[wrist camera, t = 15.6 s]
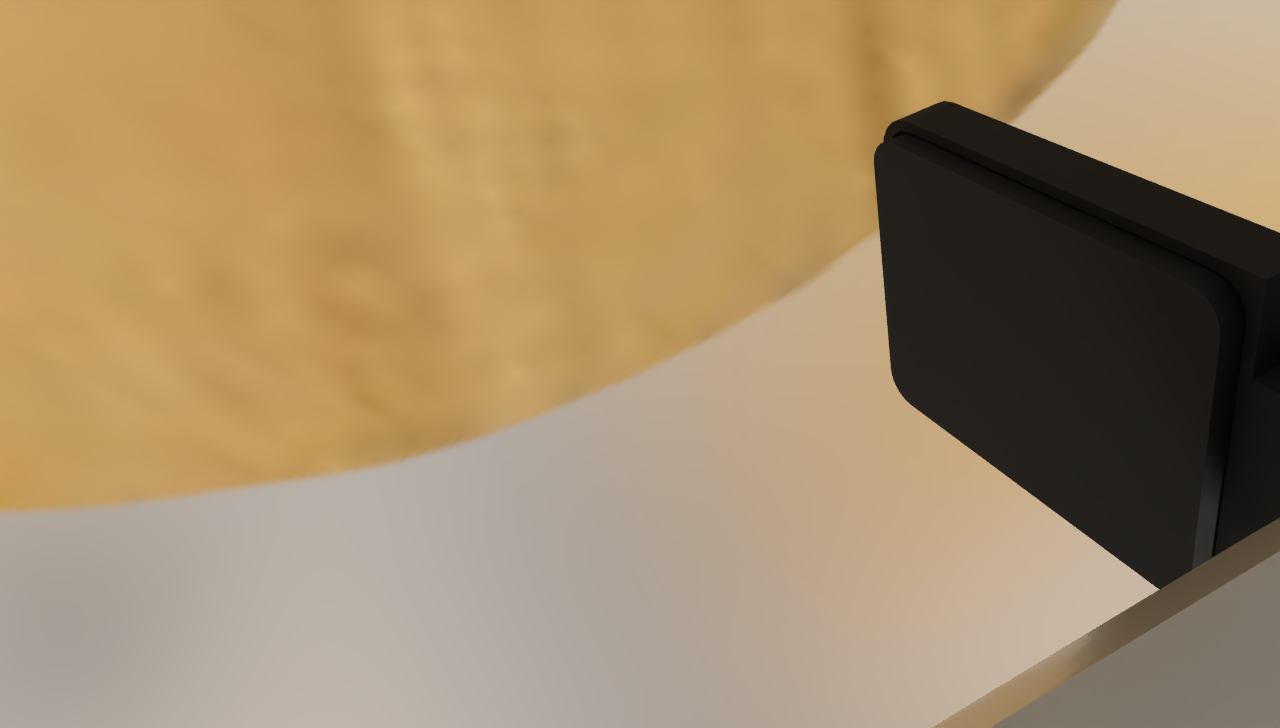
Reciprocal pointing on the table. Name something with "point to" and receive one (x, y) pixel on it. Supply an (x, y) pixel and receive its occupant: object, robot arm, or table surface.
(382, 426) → the table surface
